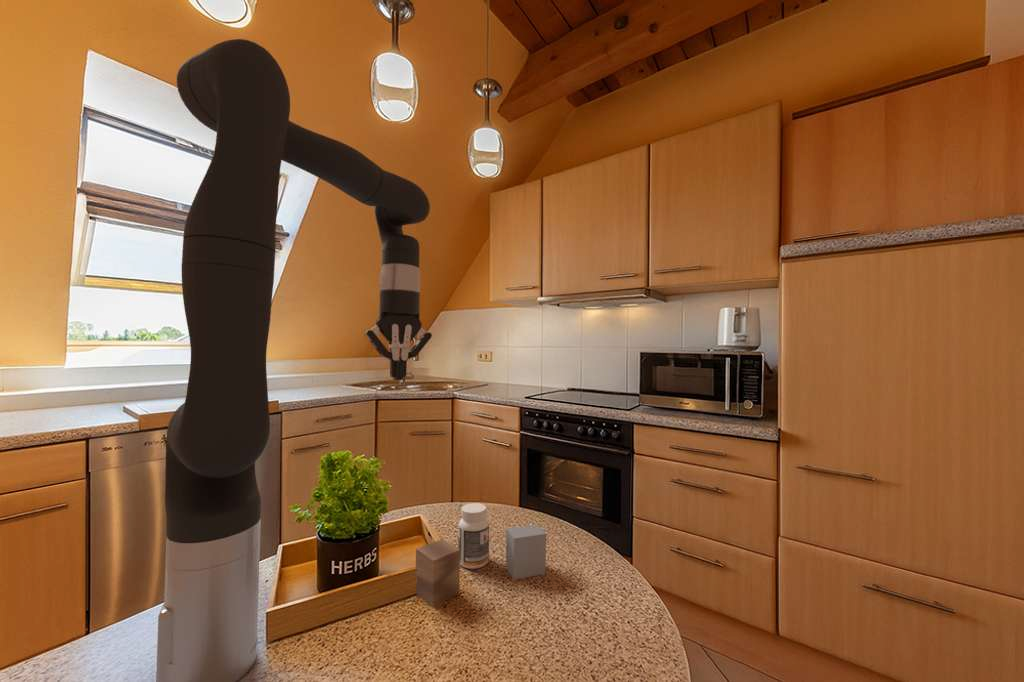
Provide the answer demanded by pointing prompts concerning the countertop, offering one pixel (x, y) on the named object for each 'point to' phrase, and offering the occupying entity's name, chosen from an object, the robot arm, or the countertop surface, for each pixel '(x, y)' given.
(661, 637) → the countertop surface
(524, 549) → the slate block
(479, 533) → the pill bottle
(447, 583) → the walnut block
